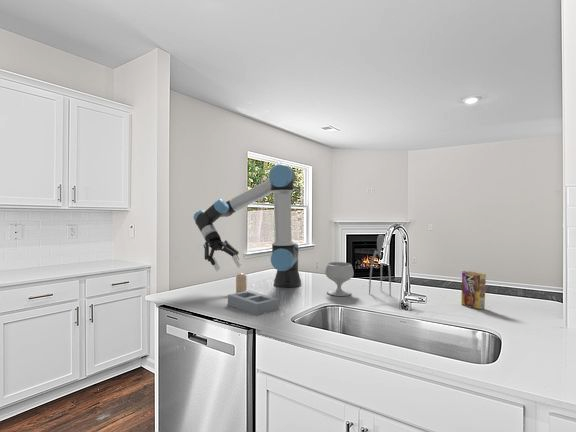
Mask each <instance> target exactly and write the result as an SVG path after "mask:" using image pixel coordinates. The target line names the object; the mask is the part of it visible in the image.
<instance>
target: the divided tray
mask: <svg viewBox="0 0 576 432" xmlns="http://www.w3.org/2000/svg"><path fill="white" fill-rule="evenodd" d="M227 306H229V307H233V308H234V307H235V308H234V309H237V308H238V310H240V309H241V310H240V311H243V312H245V311H246V312H245V313H249V314H250V315H251V314H252V315H254V316H259V315H264V314H267V313H271V312H274V311H275V312H276V311H279V309H280V299H279V298H277V297H274V296H273V297H272V296H270V295H267V294H263V293H259V292H256V291H253V290H246V291H245V292H240V293H236V292H235V293H230V294H229V293H228V294H227Z"/></svg>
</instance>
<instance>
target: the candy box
mask: <svg viewBox="0 0 576 432" xmlns="http://www.w3.org/2000/svg"><path fill="white" fill-rule="evenodd" d="M486 275H487V274H486V273H482V272H476V271H471V270H464V271H462V272H461V303H460V304H464V305H468V306H471V307H470V308H472V307H475V308H485V307H486V305H485V304H486V302H485V301H486V282H487V281H486V280H487V278H486V277H487V276H486ZM464 305H463V306H464ZM468 306H467V307H468ZM475 308H474V309H475ZM485 309H486V308H485Z"/></svg>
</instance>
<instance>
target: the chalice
mask: <svg viewBox="0 0 576 432" xmlns="http://www.w3.org/2000/svg"><path fill="white" fill-rule="evenodd" d="M324 271H325V276H326V277H327V278H328V279H329V280H331V281H332V282H334V283H335V284H336V286H337V288H336V289H331V290H328V291H326V293H327V295H330V296H334V297H346V296H351V295H352V292H351V291H349V290H344V289H342V286H343V284H344V283H345V282H348V281H349V280H351V279H352V278H353V277H354V274H355V273H354V268H353V265H352V264H351V263H349V262H345V261H344V262H342V261H335V262H334V261H332V262H328V263H327V264H326V268H325V270H324Z"/></svg>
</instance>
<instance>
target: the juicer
mask: <svg viewBox="0 0 576 432" xmlns="http://www.w3.org/2000/svg"><path fill="white" fill-rule="evenodd" d="M384 238H385V239H386V237H385V236H384V234H378V236H377V239H376V248H377V250H376V249H375V250H374V252H373V255H372V259H371V264H370V271H369V282H368V284H369V285H368V289H369V290H368V294H369V295H370V294H371V287H372V285H371V284H372V275H373V266H374V261H375V259H376V256H377V255H378V258H379V257H380V250H381V248H382V246H383V242H384ZM390 265H391V264H390V263H389V265H388V264H387V268H388V269H387V270H388V283H389V296H391V294H392V293H391V292H392V291H391V288H392V286H391V285H392V284H391V283H392V281H391V266H390ZM382 282H383V264H382V265H380V290H382V284H383V283H382Z"/></svg>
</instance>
